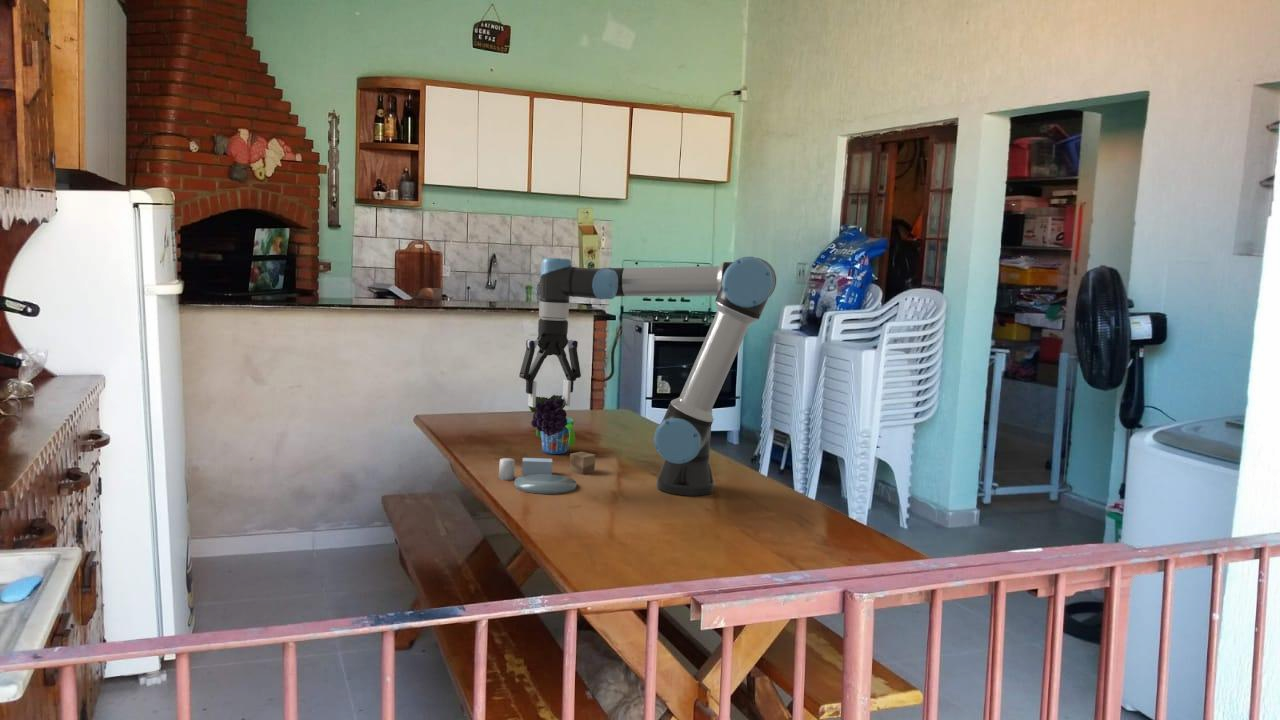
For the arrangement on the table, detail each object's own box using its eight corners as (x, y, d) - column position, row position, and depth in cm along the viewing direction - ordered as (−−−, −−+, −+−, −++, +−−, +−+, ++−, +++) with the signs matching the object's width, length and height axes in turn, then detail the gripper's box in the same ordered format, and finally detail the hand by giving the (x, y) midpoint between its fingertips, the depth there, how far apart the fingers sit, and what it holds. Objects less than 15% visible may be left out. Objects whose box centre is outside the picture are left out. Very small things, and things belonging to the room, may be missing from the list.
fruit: (541, 450, 235) (524, 424, 248) (580, 442, 239) (562, 417, 252) (539, 413, 231) (522, 389, 244) (579, 406, 235) (560, 382, 247)
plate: (587, 490, 241) (587, 486, 241) (531, 496, 233) (531, 491, 232) (558, 476, 255) (558, 472, 254) (504, 481, 246) (504, 476, 246)
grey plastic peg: (516, 479, 249) (517, 461, 248) (502, 480, 247) (503, 462, 246) (510, 475, 252) (510, 457, 252) (496, 477, 250) (497, 458, 249)
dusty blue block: (551, 476, 255) (552, 462, 255) (522, 475, 254) (522, 461, 254) (551, 472, 259) (551, 458, 259) (522, 472, 258) (522, 457, 258)
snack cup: (526, 448, 287) (527, 416, 286) (554, 445, 293) (556, 413, 292) (554, 459, 275) (556, 425, 274) (583, 456, 281) (585, 422, 280)
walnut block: (594, 472, 262) (595, 454, 262) (582, 474, 258) (583, 457, 258) (580, 468, 265) (581, 451, 265) (569, 471, 261) (570, 453, 261)
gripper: (583, 317, 248) (579, 401, 250) (507, 316, 236) (503, 404, 238) (598, 320, 241) (593, 406, 244) (520, 319, 229) (516, 409, 232)
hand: (548, 405), depth 241 cm, fingers closed on fruit, 9 cm apart
